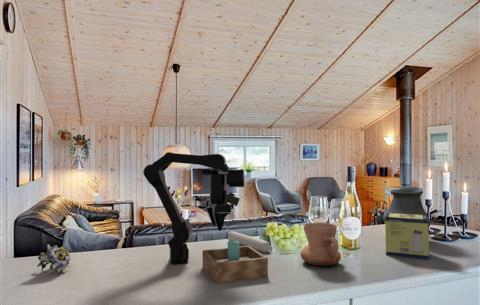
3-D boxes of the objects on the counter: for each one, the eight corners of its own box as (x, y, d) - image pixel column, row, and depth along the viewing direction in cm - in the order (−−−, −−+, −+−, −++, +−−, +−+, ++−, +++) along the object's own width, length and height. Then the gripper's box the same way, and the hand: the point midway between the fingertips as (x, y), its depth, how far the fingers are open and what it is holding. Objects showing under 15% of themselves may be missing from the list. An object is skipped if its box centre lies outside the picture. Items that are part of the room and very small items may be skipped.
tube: (273, 242, 142) (237, 232, 162) (264, 240, 139) (229, 229, 159) (270, 255, 141) (235, 243, 161) (261, 253, 138) (226, 241, 158)
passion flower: (63, 289, 116) (59, 266, 110) (30, 284, 116) (25, 261, 109) (77, 262, 126) (75, 240, 119) (47, 257, 125) (43, 235, 119)
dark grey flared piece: (375, 240, 160) (374, 187, 160) (394, 233, 175) (394, 184, 175) (422, 248, 145) (420, 190, 145) (438, 239, 160) (437, 187, 160)
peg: (230, 273, 114) (229, 244, 115) (226, 270, 118) (226, 241, 118) (241, 272, 116) (240, 243, 116) (237, 268, 120) (237, 240, 120)
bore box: (215, 283, 106) (215, 264, 106) (202, 267, 122) (202, 250, 122) (267, 276, 112) (267, 257, 112) (249, 261, 128) (248, 245, 128)
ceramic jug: (292, 259, 131) (291, 222, 131) (324, 255, 136) (324, 219, 136) (317, 273, 114) (317, 231, 114) (353, 268, 119) (352, 228, 119)
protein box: (386, 249, 145) (385, 212, 145) (428, 253, 138) (427, 214, 138) (385, 255, 135) (384, 216, 135) (429, 260, 128) (429, 219, 129)
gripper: (245, 188, 122) (244, 232, 122) (231, 184, 140) (230, 222, 140) (215, 189, 119) (214, 233, 118) (204, 185, 136) (204, 223, 136)
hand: (216, 228), depth 128 cm, fingers open, 9 cm apart
